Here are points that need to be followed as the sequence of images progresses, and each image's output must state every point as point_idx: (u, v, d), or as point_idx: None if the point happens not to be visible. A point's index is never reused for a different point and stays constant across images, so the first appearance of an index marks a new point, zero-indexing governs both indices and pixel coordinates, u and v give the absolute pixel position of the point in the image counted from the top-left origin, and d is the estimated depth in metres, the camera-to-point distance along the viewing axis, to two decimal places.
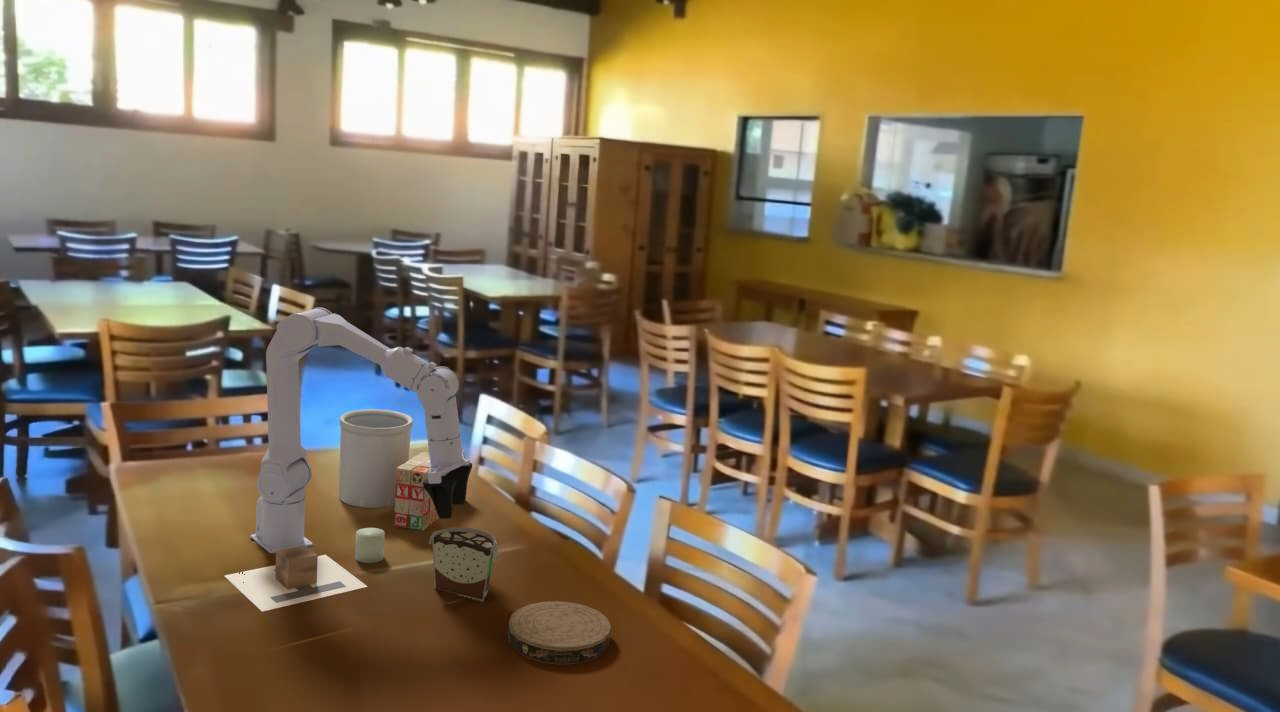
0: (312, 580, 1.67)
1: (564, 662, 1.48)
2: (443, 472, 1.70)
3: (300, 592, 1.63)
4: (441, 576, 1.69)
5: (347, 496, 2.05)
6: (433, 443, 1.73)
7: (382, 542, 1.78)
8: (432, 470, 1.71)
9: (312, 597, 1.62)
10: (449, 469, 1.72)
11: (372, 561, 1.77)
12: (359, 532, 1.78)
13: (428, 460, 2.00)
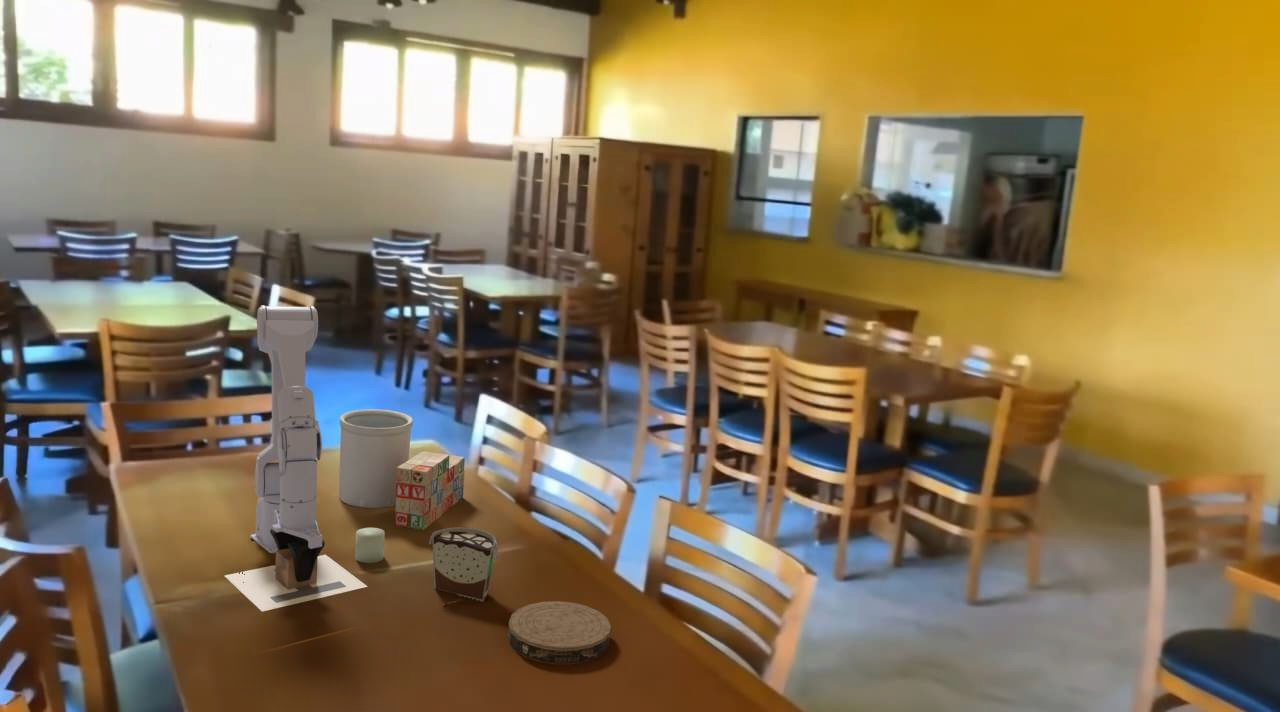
0: (312, 580, 1.67)
1: (564, 662, 1.48)
2: (276, 516, 1.69)
3: (300, 592, 1.63)
4: (441, 576, 1.68)
5: (347, 496, 2.05)
6: None
7: (382, 542, 1.78)
8: None
9: (312, 597, 1.62)
10: (277, 519, 1.67)
11: (372, 561, 1.77)
12: (359, 532, 1.78)
13: (428, 459, 2.01)
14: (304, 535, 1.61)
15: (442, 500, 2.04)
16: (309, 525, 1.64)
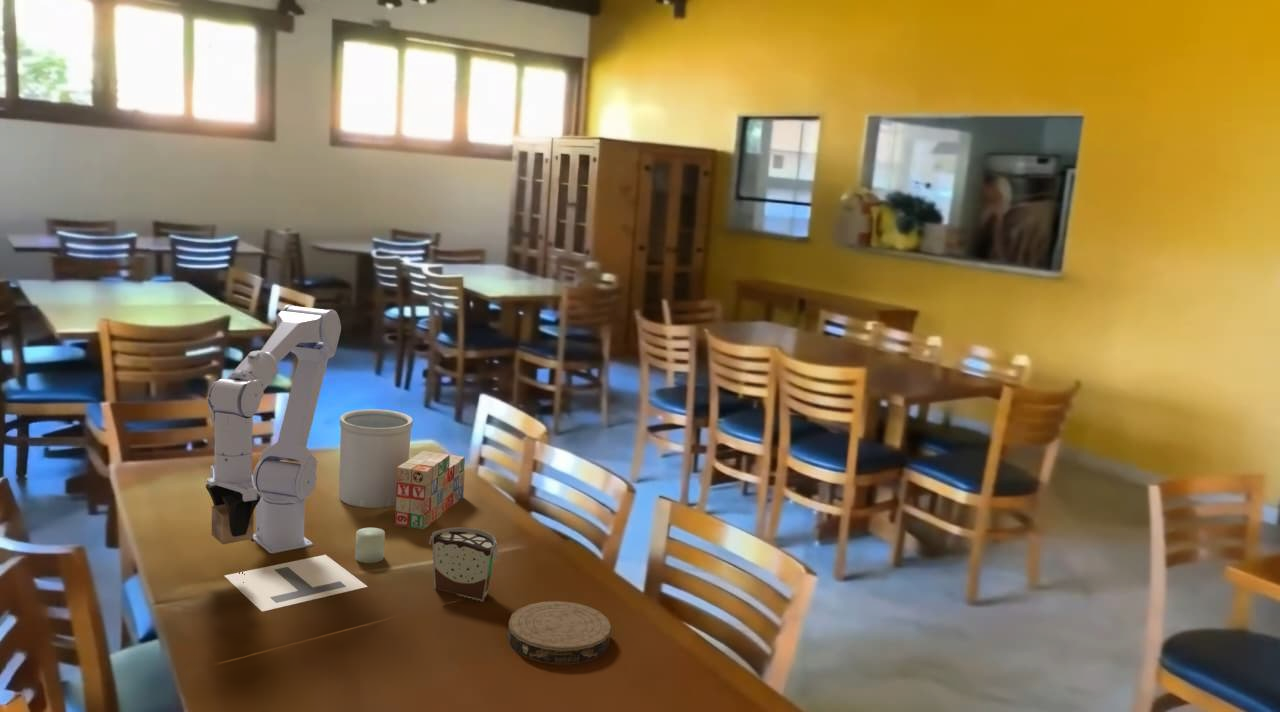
0: (248, 536, 1.65)
1: (564, 662, 1.48)
2: (212, 471, 1.67)
3: (300, 592, 1.63)
4: (441, 576, 1.68)
5: (347, 496, 2.05)
6: None
7: (382, 542, 1.78)
8: None
9: (312, 597, 1.62)
10: None
11: (372, 561, 1.77)
12: (359, 532, 1.78)
13: (429, 459, 2.01)
14: (238, 488, 1.59)
15: (442, 500, 2.04)
16: (244, 479, 1.62)
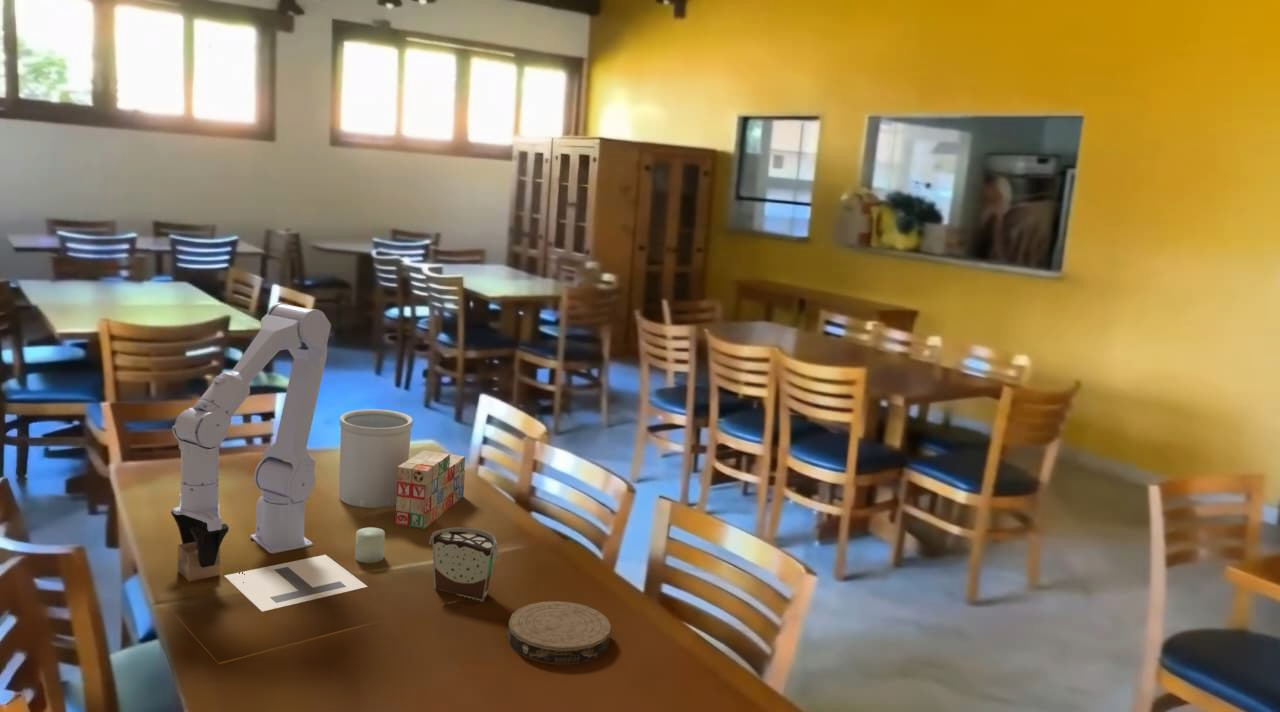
0: (215, 574, 1.66)
1: (564, 662, 1.48)
2: (180, 499, 1.68)
3: (300, 592, 1.63)
4: (441, 576, 1.68)
5: (347, 496, 2.05)
6: None
7: (382, 542, 1.78)
8: None
9: (312, 597, 1.62)
10: (180, 502, 1.67)
11: (371, 561, 1.77)
12: (359, 532, 1.78)
13: (429, 459, 2.01)
14: (203, 518, 1.60)
15: (443, 499, 2.05)
16: (210, 508, 1.63)
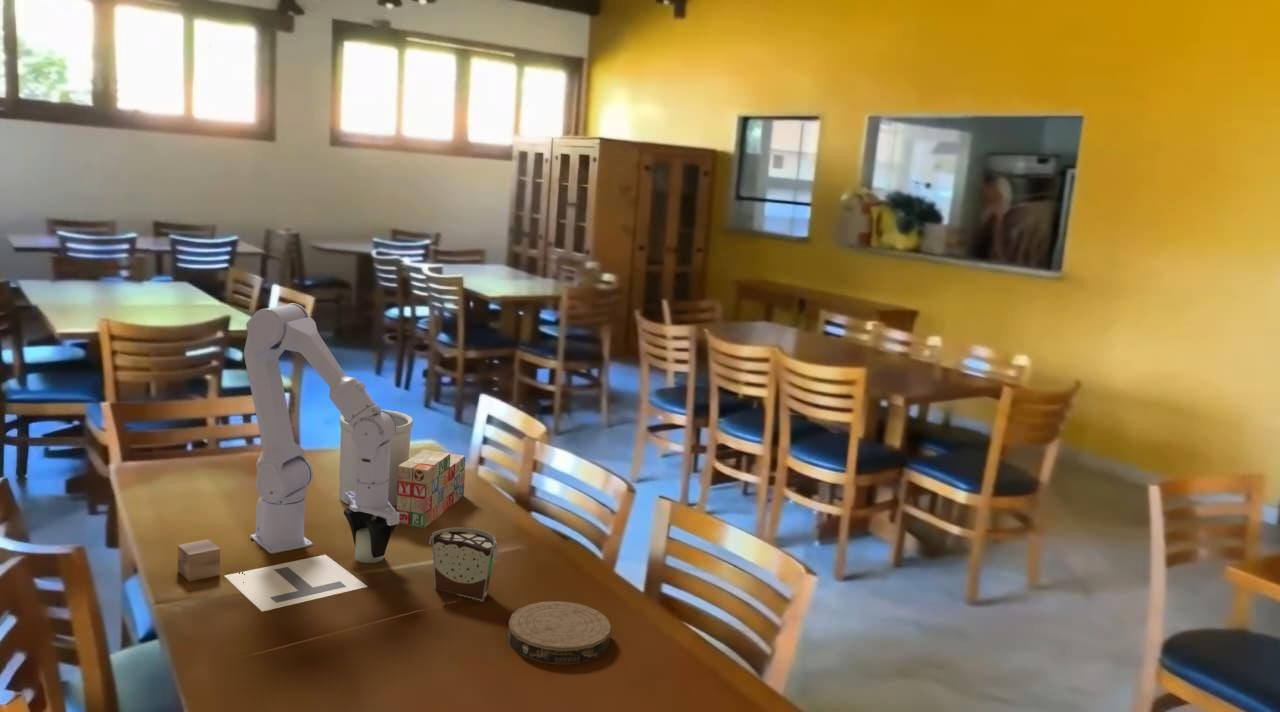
0: (215, 574, 1.66)
1: (564, 662, 1.48)
2: (348, 497, 1.80)
3: (300, 592, 1.63)
4: (441, 576, 1.68)
5: None
6: None
7: None
8: None
9: (312, 597, 1.62)
10: (350, 500, 1.79)
11: (370, 561, 1.77)
12: (359, 532, 1.78)
13: (429, 458, 2.02)
14: (383, 513, 1.73)
15: (443, 498, 2.05)
16: (384, 504, 1.76)
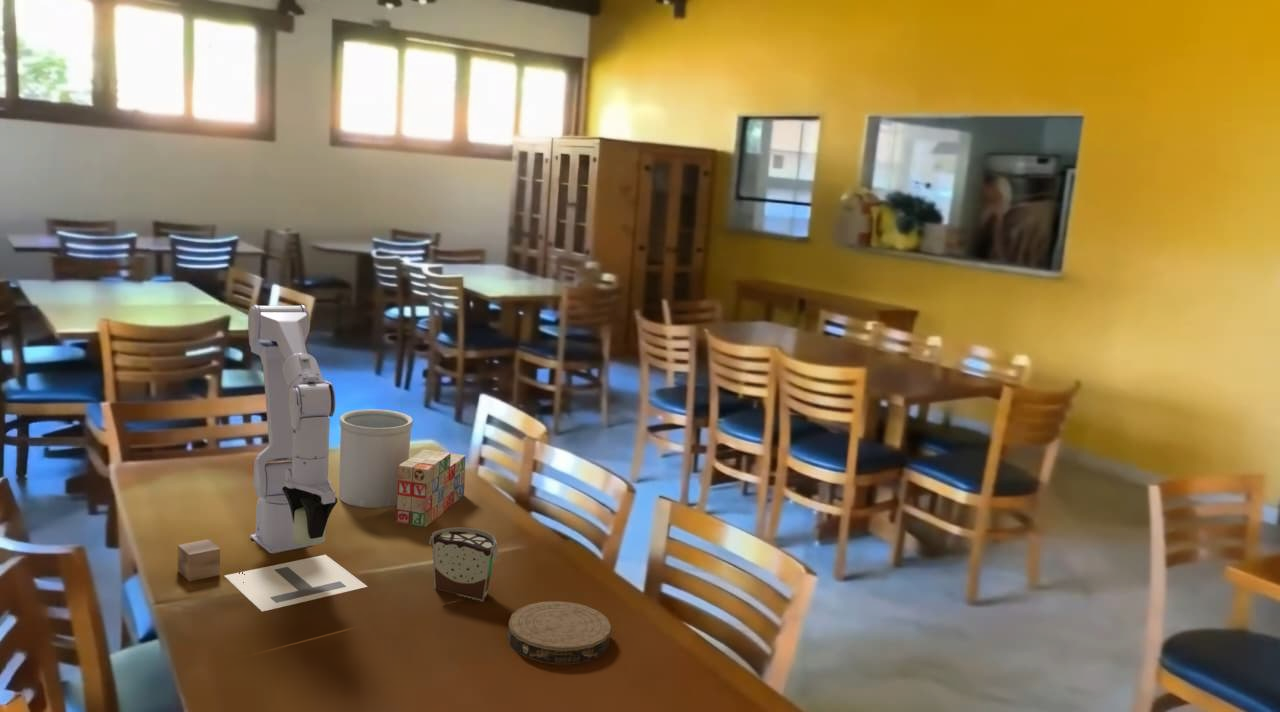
0: (215, 574, 1.66)
1: (564, 662, 1.48)
2: (288, 474, 1.69)
3: (300, 592, 1.63)
4: (441, 576, 1.68)
5: (347, 496, 2.05)
6: None
7: None
8: None
9: (312, 597, 1.62)
10: (289, 477, 1.67)
11: (308, 542, 1.65)
12: (298, 510, 1.67)
13: (430, 457, 2.02)
14: (317, 491, 1.61)
15: (443, 498, 2.05)
16: (322, 482, 1.64)
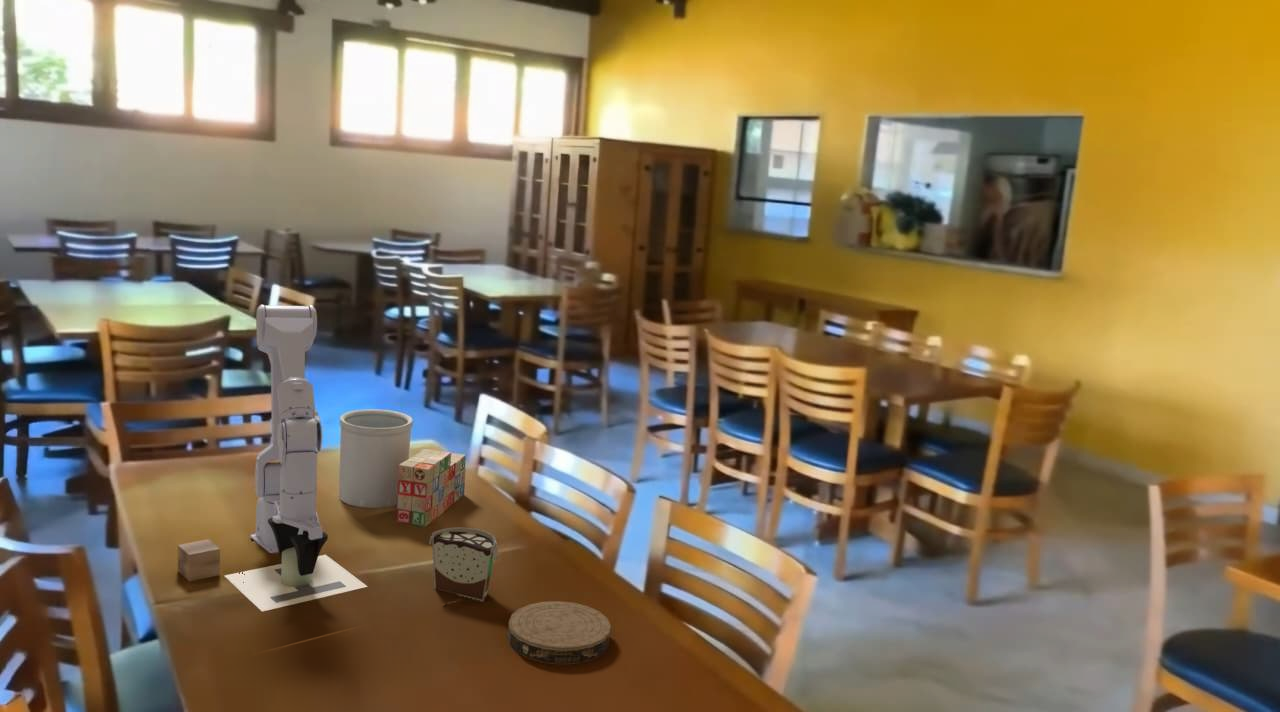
0: (215, 574, 1.66)
1: (564, 662, 1.48)
2: (276, 507, 1.68)
3: (300, 592, 1.63)
4: (441, 576, 1.68)
5: (347, 496, 2.05)
6: None
7: None
8: None
9: (312, 597, 1.62)
10: (277, 510, 1.67)
11: (296, 583, 1.65)
12: (285, 551, 1.66)
13: (430, 457, 2.02)
14: (304, 526, 1.60)
15: (444, 497, 2.06)
16: (309, 516, 1.64)
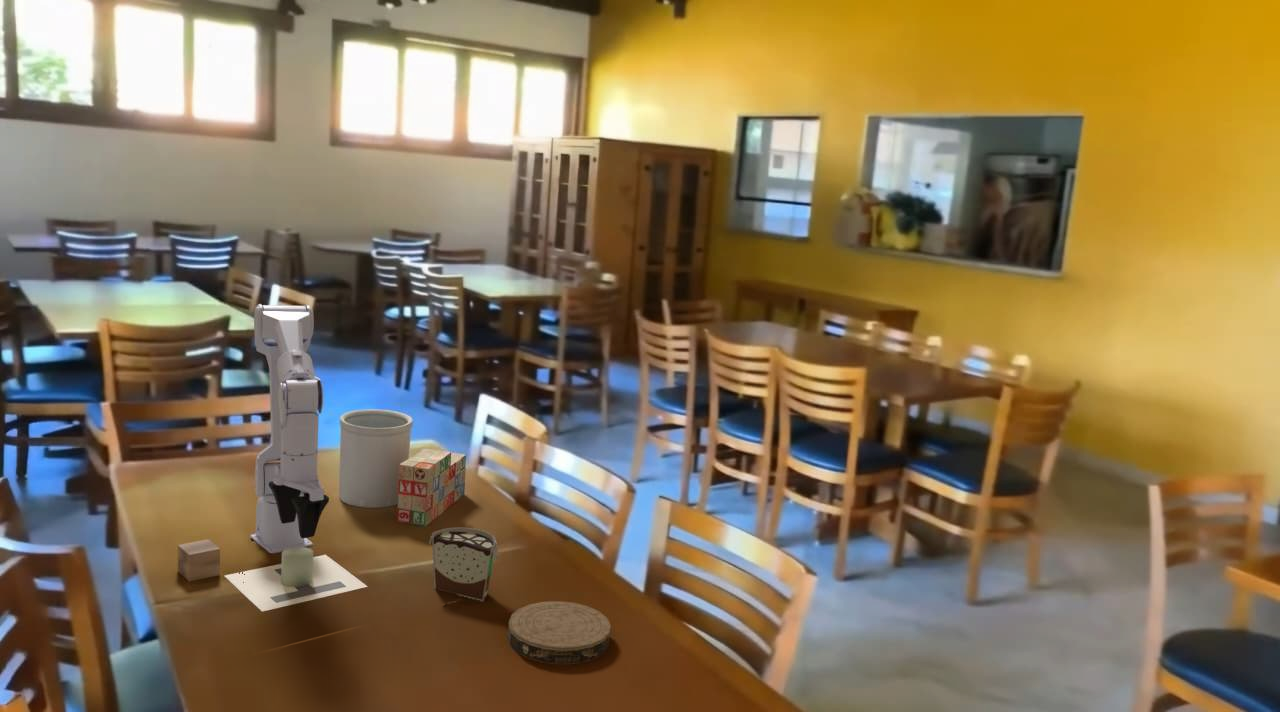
0: (215, 574, 1.66)
1: (564, 662, 1.48)
2: (277, 471, 1.67)
3: (300, 592, 1.63)
4: (441, 576, 1.69)
5: (347, 496, 2.05)
6: None
7: (308, 564, 1.66)
8: None
9: (312, 597, 1.62)
10: (278, 473, 1.66)
11: (295, 583, 1.65)
12: (285, 551, 1.66)
13: (430, 457, 2.03)
14: (305, 488, 1.59)
15: (444, 497, 2.06)
16: (310, 479, 1.62)
